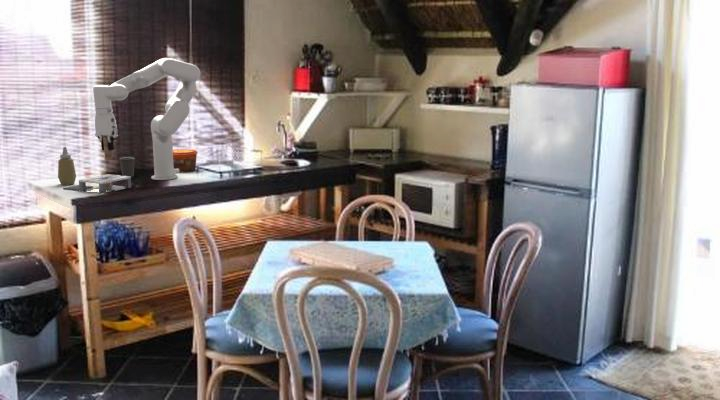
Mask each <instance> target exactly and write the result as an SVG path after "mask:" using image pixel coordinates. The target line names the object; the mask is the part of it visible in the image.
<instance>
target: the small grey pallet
mask: <svg viewBox="0 0 720 400" xmlns="http://www.w3.org/2000/svg"><path fill="white" fill-rule="evenodd" d="M118 181H124V186H123V185H114V184H113V183H114V182H118ZM86 183H89V184H98V186H97V187H93V188H89V189H86V186H87V184H86ZM106 183H110V186H107V187H106ZM78 185H79V191H78V192H82V191H83V193H86V192H85V191H91V190H93V189H99V193H98V194H101V193H104V194H107V193H106V190H107V191H108V190H109V191H110V190H111V191H112V190H115V191H114V192H117V191H121V190H125V189H130V188H132V177H131V176H122V175H120V174H109V173H107V174H102V175H98V176H97V175H96V176H92V177H87V178H83V179H82V178H81V179H78Z"/></svg>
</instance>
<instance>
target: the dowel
mask: <svg viewBox="0 0 720 400" xmlns="http://www.w3.org/2000/svg"><path fill="white" fill-rule="evenodd" d="M103 143H104V150H103V151H104V152H103V153H104V160H105V161H112V160H113V150H110V151H109V150H108V137H107V136H104V135H103Z"/></svg>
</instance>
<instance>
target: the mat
mask: <svg viewBox="0 0 720 400" xmlns="http://www.w3.org/2000/svg"><path fill="white" fill-rule="evenodd" d="M91 188H94V186H93V185H86V190H87V189H91ZM62 189H63V190H66V191H67V190H68V191H77V192H80V191H79V184H76V185H70V186H67V187H63V188H62Z"/></svg>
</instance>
